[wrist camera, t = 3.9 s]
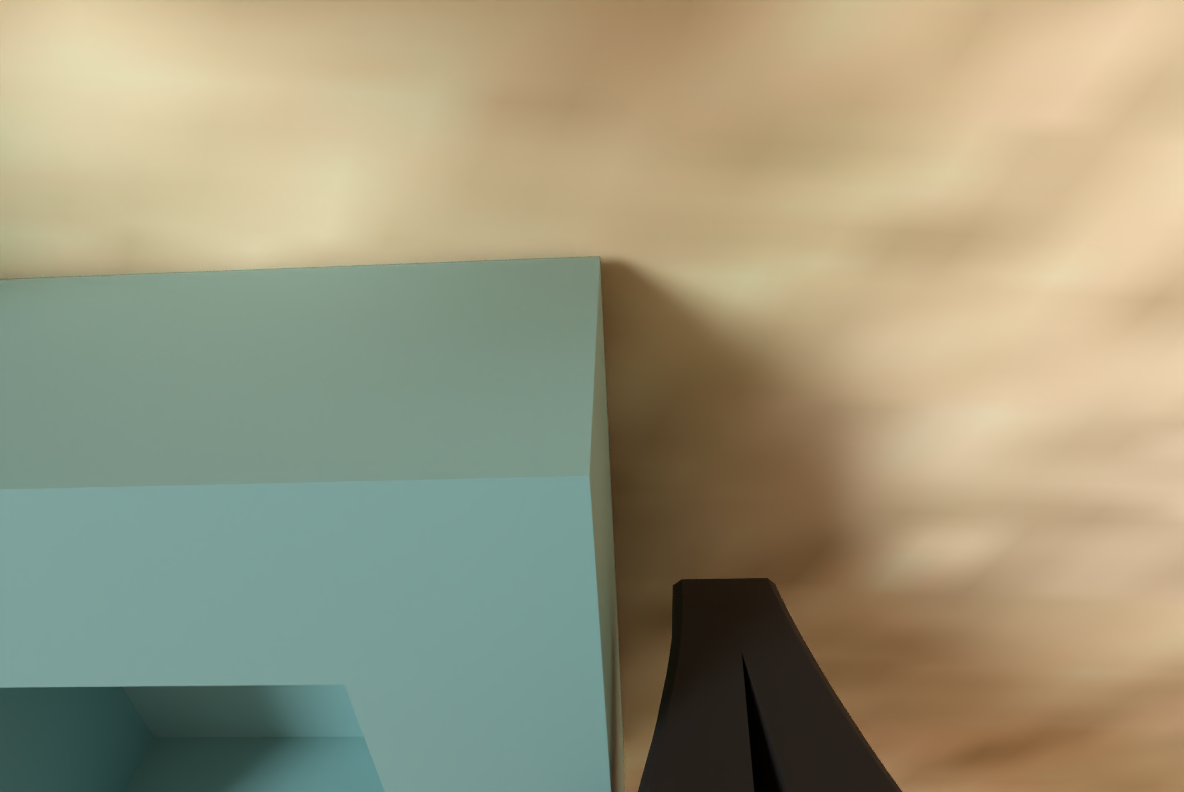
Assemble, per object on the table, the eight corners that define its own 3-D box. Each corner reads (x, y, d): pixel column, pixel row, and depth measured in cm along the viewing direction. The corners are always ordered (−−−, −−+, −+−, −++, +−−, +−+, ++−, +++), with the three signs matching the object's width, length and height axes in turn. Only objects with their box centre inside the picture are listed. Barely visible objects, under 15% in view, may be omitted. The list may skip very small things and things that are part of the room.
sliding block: (113, 758, 14) (-42, 1013, 11) (-218, 287, 9) (-730, 507, 5) (623, 756, 14) (627, 1024, 10) (599, 256, 8) (589, 476, 5)
